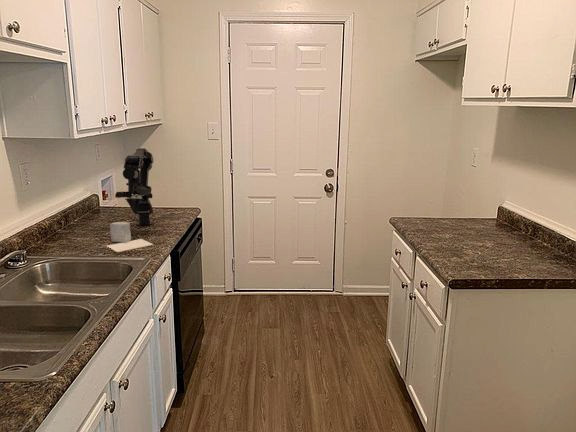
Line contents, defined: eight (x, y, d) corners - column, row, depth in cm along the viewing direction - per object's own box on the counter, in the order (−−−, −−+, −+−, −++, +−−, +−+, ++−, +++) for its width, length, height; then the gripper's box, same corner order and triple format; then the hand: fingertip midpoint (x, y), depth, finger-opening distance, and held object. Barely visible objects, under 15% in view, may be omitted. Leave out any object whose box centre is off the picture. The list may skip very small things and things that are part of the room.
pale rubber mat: (106, 246, 212) (106, 245, 212) (141, 239, 223) (141, 238, 223) (117, 252, 203) (117, 251, 203) (153, 244, 214) (153, 244, 214)
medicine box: (131, 240, 220) (129, 222, 219) (125, 242, 216) (124, 224, 214) (117, 239, 222) (115, 221, 221) (111, 241, 218) (109, 223, 217)
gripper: (130, 179, 217) (130, 212, 218) (160, 181, 234) (160, 212, 234) (114, 180, 223) (114, 213, 223) (144, 182, 239) (144, 212, 239)
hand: (134, 212), depth 230 cm, fingers closed
